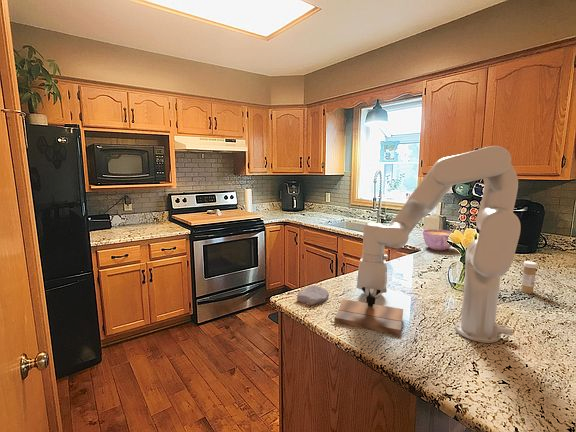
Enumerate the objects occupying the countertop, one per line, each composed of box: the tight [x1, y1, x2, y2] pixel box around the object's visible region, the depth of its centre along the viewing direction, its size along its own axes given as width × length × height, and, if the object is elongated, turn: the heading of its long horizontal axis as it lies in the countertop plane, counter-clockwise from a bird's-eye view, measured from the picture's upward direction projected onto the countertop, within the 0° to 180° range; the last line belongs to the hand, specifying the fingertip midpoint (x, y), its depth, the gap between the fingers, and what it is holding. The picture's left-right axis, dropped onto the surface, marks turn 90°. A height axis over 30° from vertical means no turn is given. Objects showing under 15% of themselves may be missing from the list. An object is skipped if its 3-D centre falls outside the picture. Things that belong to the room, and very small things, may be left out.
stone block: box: [296, 285, 330, 306], centre depth 128 cm, size 12×5×10 cm
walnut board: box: [333, 309, 403, 336], centre depth 107 cm, size 22×6×2 cm, turn 67°
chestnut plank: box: [338, 298, 404, 323], centre depth 113 cm, size 22×6×2 cm, turn 67°
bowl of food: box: [422, 228, 453, 252], centre depth 207 cm, size 20×20×12 cm
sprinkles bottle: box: [520, 260, 538, 295], centre depth 135 cm, size 5×5×14 cm
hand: (370, 305), depth 114 cm, fingers closed
